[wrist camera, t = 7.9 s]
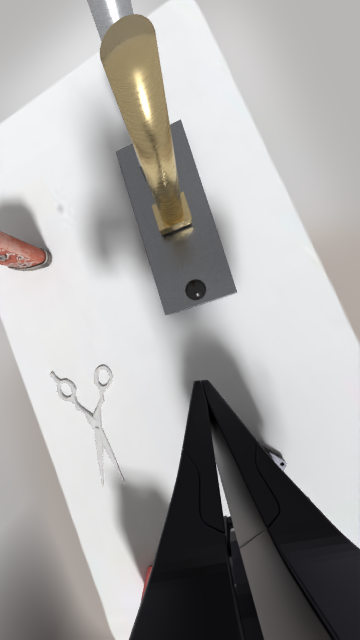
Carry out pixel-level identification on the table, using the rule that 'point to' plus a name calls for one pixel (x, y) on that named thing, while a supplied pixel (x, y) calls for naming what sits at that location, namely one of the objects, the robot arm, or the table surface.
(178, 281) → the bolt plate
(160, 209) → the gold tapered block
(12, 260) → the lighter
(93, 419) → the scissors
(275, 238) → the table surface
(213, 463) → the robot arm
